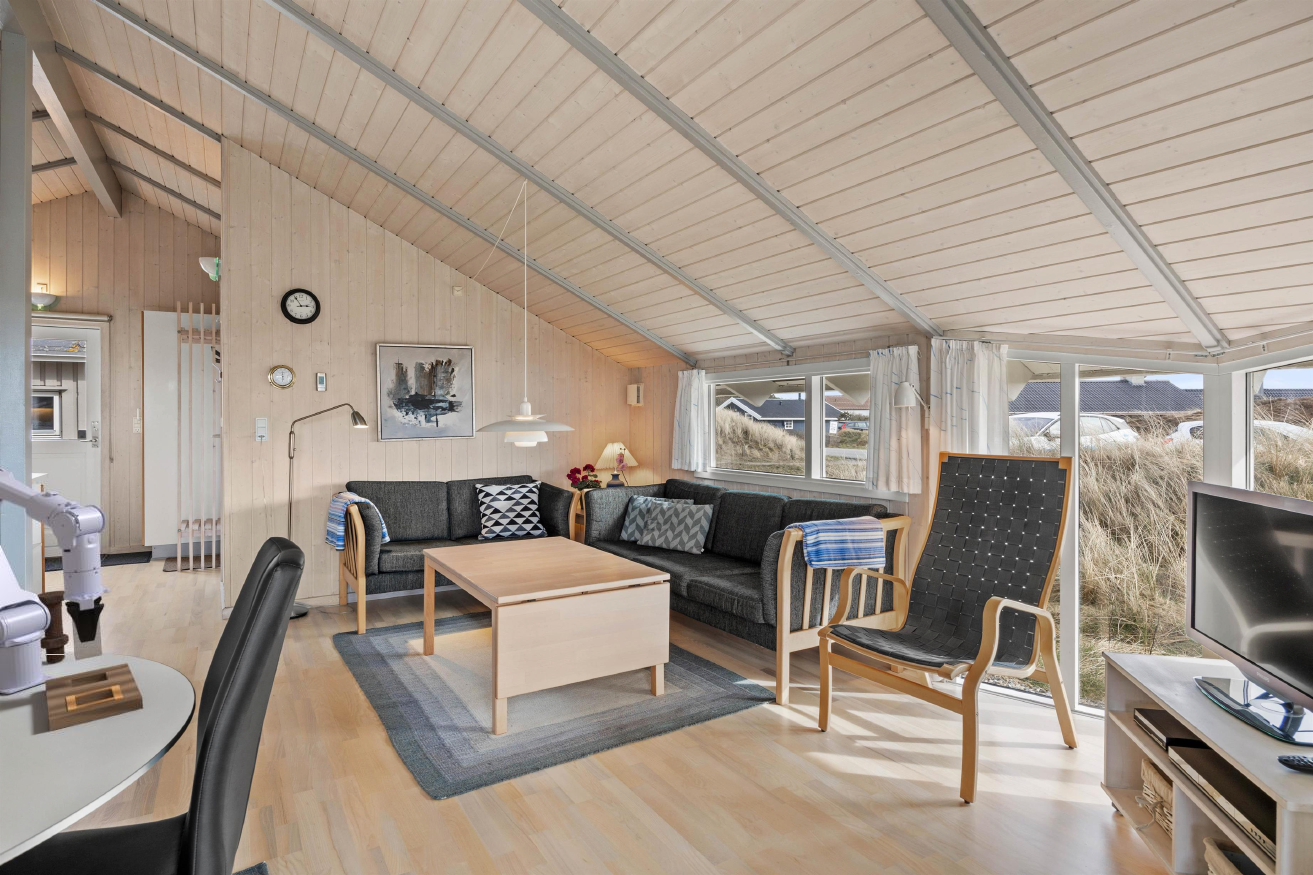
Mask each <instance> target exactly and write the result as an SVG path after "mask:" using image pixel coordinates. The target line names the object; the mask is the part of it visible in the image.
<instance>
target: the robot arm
mask: <svg viewBox="0 0 1313 875" xmlns="http://www.w3.org/2000/svg"><path fill="white" fill-rule="evenodd" d="M4 502H8V503H11V504H14V505H16V506H18V507H20V508H24V509H25V514H26V516H27V517H29V518H30V519H33V520H35V521H37V522H39V523H41V524H43V525H45V526H47V527H49V528H51V531H52V533H53V535H54V536H55V539H56V540H57V546H58V547H59V548H58V549H61V559H62V560H61V561H62V571H63V572H62V574H63V587H64V590H63V591H65V594H64V595H63V596H64V599H65V600H66V601H65V600H64V601H65V603H64V606H66V612H67V614H68V615H69V616H70V617H71V620H72V619H73V621H74V623H75V626H76V629H77V633H78V636H79V639H80V642H81V643H84V642H89V641H94V640H95V637H96V631H97V625H98V620H99V617H100V618H101V614H102V612H103V611H104V608H105V603H103V602H102V595H103V594H106V593H107V594H108V593H110V592H111V588H110V587H109V586H108V587H107V586H106V587H103V579H102V578H103V577H102V565H101V564H102V562H101V553H100V552H101V548H100V533H102V532H103V530H104V529H105V528H106V525H107V524H106V523H107V518H106V515H105V513H104V511H103V510H102V509H101V508H100V507H98V506H97V505H95V504H90V505H85V506H84V505H80V504H78V502H77V501H75V500H69V499H66V498H65V497H63V496H60V495H59V491H58V492H57V491H55V490H50V491H46V490H45V491H41V492H38V491H37V490H35V489H33V488H31V487H29V486H27V485H26V484H24V483H22V482H21V481H19V480H17V479H15V476H14V474H13V472H12V471H9V470H7V469H5V468H3V467H0V507H1V506H2V505H3V504H4ZM37 595H38V594H36V593H34V592H31V591H28V590H26V589H22V588H21V587H20V584H19V582H18V580H17V578H16V576H15V573H14V572H13V569H12V567H11V565H10V563H9V561H8V558H7V557H6V553H5V552H4V550H3V548H2V546H1V544H0V694H5V695H10V694H15V693H16V692H20V691H23V690H26V689H28V688H31V687H35V686H37V685H41V684H44V683H45V680H49V679H54V676H51V675H44V673H43V672H44V671H43V660H42V659H43V658H42V648H41V642H40V640H41V637H43V636H45V635H44V633H45V632H44V630H46V629H47V628H48V626H49V624H50V612H49V610H48V609H47V607H46V606H45V605H44V604H42V603H41V601H40V600H39V598H38V596H37ZM101 602H102V603H101Z"/></svg>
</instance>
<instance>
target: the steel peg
mask: <svg viewBox="0 0 1313 875" xmlns="http://www.w3.org/2000/svg"><path fill="white" fill-rule="evenodd" d="M100 619H101V616H100V617H99V620H98V625H97V631H96V637H95V640H94V641H89V642H84V643H81V642H80V639H79V636H78V633H77V629H76V626H75V623H74V621H73V619H72V618H71V620H72V621H71V622H72V623H71V625H72V640H73V651H74V658H75V661H78V660H85V659H90V658H95V657H99V656H103V649H102V635H101V634H102V633H101V632H102V631H101V620H100Z"/></svg>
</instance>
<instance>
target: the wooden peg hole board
mask: <svg viewBox="0 0 1313 875" xmlns="http://www.w3.org/2000/svg"><path fill="white" fill-rule="evenodd" d="M44 683H45V694H46V695H45V696H46V704H47V714H48V724H49V725H48V726H49V732H52V731H56V730H60V729H64V728H68V727H69V728H70V727H72V726H76V725H77V726H78V725H81V724H85V723H88V722H93V721H97V720H101V719H105V718H110V717H112V716H117V715H120V714H124V713H128V712H133V711H137V710H142V709H144V702H143V700H144V699H143V695H142V694H141V692H140V689H139V686H138V684H137V682H136V680H135V678H134V675H133V673H132V671H131V668H130V667H129V664H128V662H126V663H121V664H117V665H112V666H107V667H103V668H102V667H101V668H98V669H94V670H93V669H92V670H88V671H83V672H79V673H73V674H70V675H69V674H68V675H65V676H64V675H63V676H58V677H55V678H54V679H49V680H45V682H44Z"/></svg>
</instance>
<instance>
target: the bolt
mask: <svg viewBox="0 0 1313 875" xmlns="http://www.w3.org/2000/svg"><path fill="white" fill-rule="evenodd" d="M64 594H65V591H64V590H54V591H45V592H42V593H39V594H37V596H38V598H39V600H40V601H41V603H42V604H44V605H45V606H46V607H47V609H48V610H49V612H50V624H49V626H48V628H47V629H46V630H44V635H43V636H44V637H43V638H40V642H41V649H45V660H46V661H45V662H46V663H47V664H52V663H53V664H57V663H60V662H62V661H64V660H65V658H66V652H65V651H66V650H65V645H67V644H68V643H69V640H70V638H69V634H66V633H64V627H63V626H64V625H63V612H62V611H63V609H62V608H63V602H64V601H65V599H64V596H63V595H64ZM46 654H65V655H46Z"/></svg>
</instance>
